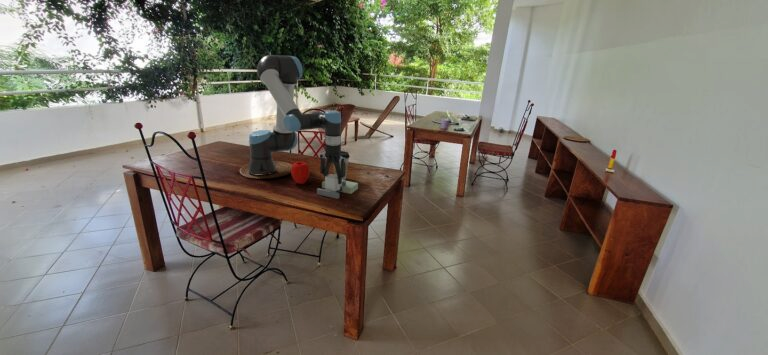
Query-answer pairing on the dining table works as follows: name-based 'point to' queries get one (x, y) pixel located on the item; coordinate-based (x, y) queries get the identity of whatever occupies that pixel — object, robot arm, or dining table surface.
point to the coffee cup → (345, 155)
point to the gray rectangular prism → (330, 182)
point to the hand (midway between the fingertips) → (332, 188)
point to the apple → (300, 172)
